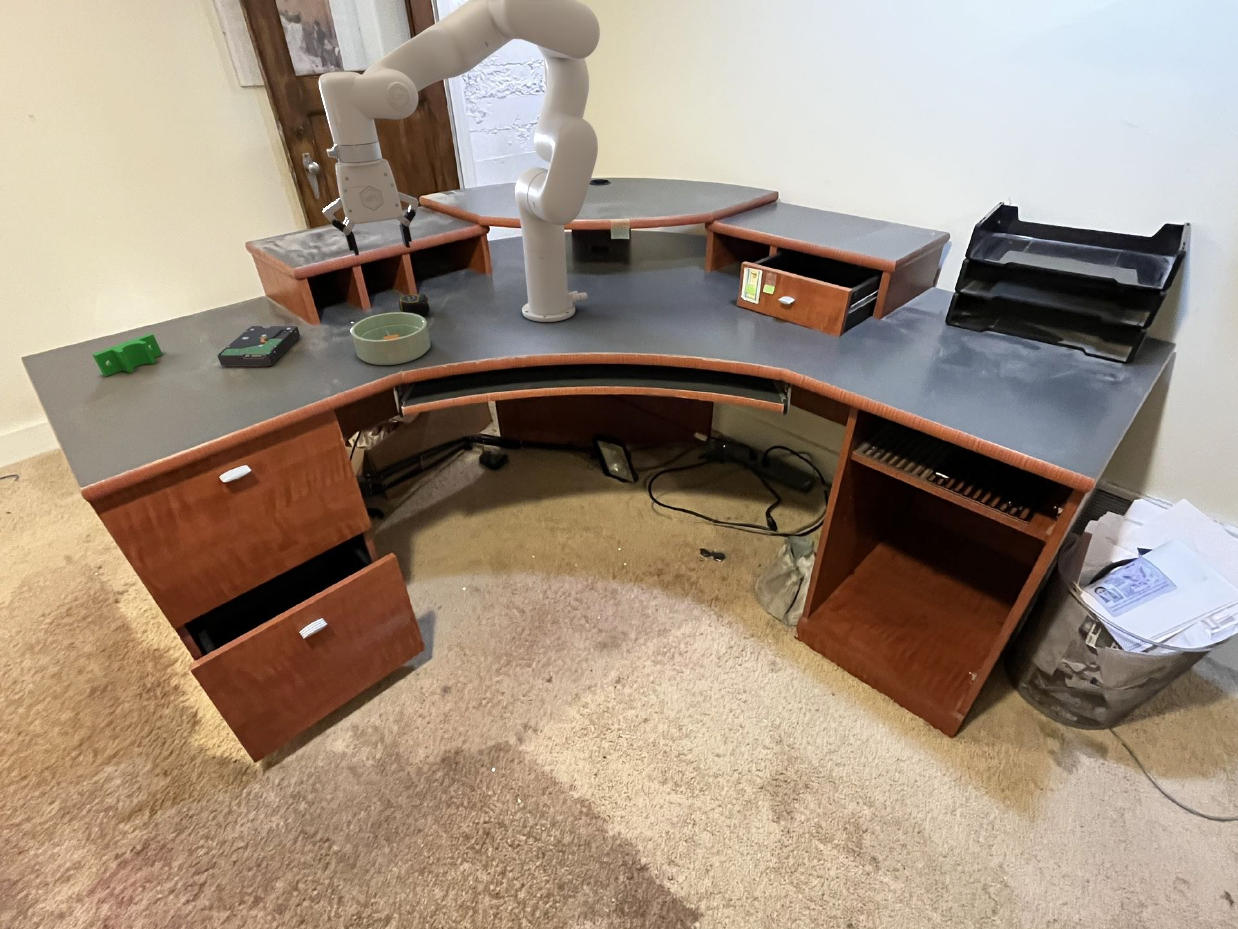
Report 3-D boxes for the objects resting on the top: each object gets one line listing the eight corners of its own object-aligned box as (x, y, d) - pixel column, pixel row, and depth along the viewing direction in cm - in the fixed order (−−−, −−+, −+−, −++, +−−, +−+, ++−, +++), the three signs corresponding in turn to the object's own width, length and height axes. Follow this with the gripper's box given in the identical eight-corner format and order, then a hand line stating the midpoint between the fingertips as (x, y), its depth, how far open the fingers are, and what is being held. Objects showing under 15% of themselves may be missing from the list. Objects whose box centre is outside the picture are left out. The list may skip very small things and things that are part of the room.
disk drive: (254, 337, 137) (220, 367, 125) (250, 325, 135) (215, 354, 123) (301, 337, 137) (272, 366, 125) (298, 325, 135) (268, 354, 123)
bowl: (422, 331, 139) (417, 307, 136) (438, 357, 128) (433, 332, 125) (352, 343, 134) (346, 319, 131) (362, 372, 123) (356, 347, 120)
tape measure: (431, 316, 146) (428, 301, 144) (401, 320, 144) (397, 304, 142) (429, 306, 151) (426, 291, 149) (400, 309, 150) (397, 294, 147)
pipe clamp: (114, 379, 121) (103, 358, 118) (103, 375, 122) (91, 354, 119) (170, 356, 129) (160, 336, 126) (159, 353, 130) (149, 332, 127)
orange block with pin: (405, 357, 127) (402, 343, 125) (390, 360, 126) (387, 345, 124) (395, 336, 135) (392, 322, 134) (381, 339, 134) (377, 325, 133)
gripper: (309, 161, 105) (338, 262, 115) (412, 152, 111) (430, 248, 122) (305, 155, 111) (332, 251, 121) (403, 145, 117) (421, 238, 127)
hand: (382, 249), depth 121 cm, fingers open, 9 cm apart
